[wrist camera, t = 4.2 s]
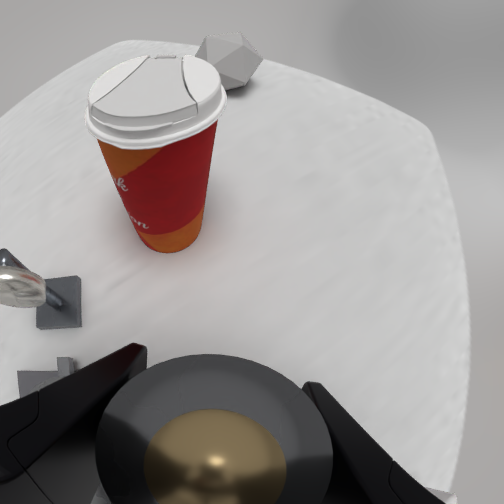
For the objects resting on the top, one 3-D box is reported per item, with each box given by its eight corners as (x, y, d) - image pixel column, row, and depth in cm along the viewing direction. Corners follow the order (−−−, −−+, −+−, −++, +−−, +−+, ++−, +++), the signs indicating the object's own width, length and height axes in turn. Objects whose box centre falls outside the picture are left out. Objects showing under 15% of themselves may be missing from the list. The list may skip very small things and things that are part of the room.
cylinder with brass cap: (273, 454, 12) (383, 532, 3) (166, 472, 11) (113, 582, 2) (250, 356, 15) (329, 294, 6) (143, 372, 13) (42, 333, 4)
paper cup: (135, 187, 25) (110, 52, 13) (216, 191, 27) (233, 52, 14) (118, 263, 22) (52, 131, 10) (211, 270, 23) (224, 130, 11)
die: (235, 70, 39) (200, 27, 31) (281, 66, 34) (247, 12, 26) (208, 107, 38) (167, 62, 30) (255, 105, 33) (212, 49, 25)
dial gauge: (83, 326, 19) (22, 285, 11) (39, 329, 18) (-30, 291, 10) (82, 278, 21) (31, 218, 13) (40, 284, 20) (-20, 229, 12)
